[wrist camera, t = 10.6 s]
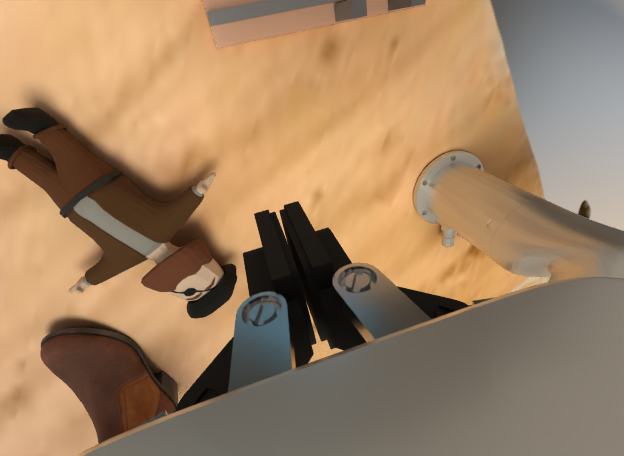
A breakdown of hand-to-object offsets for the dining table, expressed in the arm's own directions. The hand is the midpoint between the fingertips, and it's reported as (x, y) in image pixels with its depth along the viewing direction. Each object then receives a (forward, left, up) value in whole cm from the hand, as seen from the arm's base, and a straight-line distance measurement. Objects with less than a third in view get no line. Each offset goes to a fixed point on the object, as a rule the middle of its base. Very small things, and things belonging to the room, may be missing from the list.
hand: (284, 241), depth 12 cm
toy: (-10, +16, -33) cm, 38 cm away
